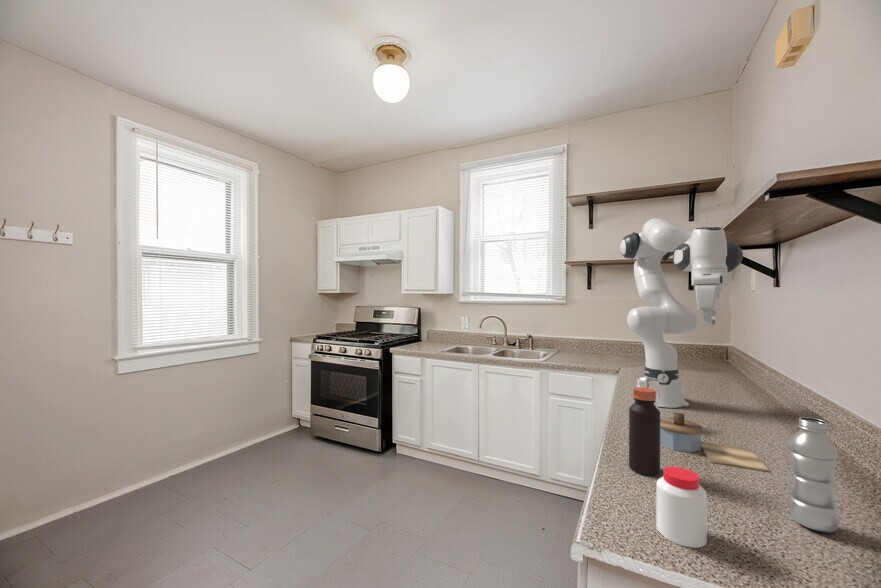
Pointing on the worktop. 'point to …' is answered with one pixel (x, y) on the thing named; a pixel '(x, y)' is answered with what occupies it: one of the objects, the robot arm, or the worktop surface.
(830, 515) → the plastic bottle
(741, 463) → the tan flat square piece
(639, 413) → the vinegar
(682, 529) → the pill bottle
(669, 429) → the lid
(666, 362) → the robot arm
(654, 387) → the beer glass
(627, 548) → the worktop surface
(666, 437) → the bowl
